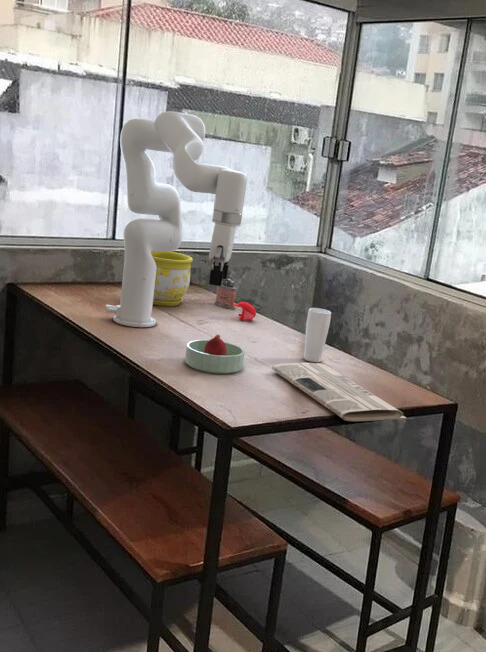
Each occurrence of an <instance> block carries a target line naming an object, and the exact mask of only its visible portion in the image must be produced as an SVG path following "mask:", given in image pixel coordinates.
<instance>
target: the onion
mask: <svg viewBox="0 0 486 652" xmlns="http://www.w3.org/2000/svg"><path fill="white" fill-rule="evenodd" d="M208 340H209V341H208V342H207V344H206V346H205V350H204V351H205V353H206V354H211V355H219V356H225V355H226V351H227V349H226V345H225V343H224V342H225V341H224V340H223V339H222V338H221V335H220V334H219V333H218V334H216V335H215V336H214V337H213V338H211V339H208Z"/></svg>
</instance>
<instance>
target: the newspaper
mask: <svg viewBox="0 0 486 652" xmlns="http://www.w3.org/2000/svg"><path fill="white" fill-rule="evenodd" d="M271 370H273V372H275V373H276V374H277V375H279V376H280V377H282V378H284V380H286V381H288V382H289V383H291V384H292V385H293V386H294V387H296V388H298V389H299V390H300V391H302V392H303V393H305V394H306V395H307V396H309V397H311V398H312V399H313V400H314V401H316V402H317V403H319V404H320V405H322V406H323V407H325V408H326V409H328V410H329V411H331V412H332V413H333V414H335V415H336V416H338V417H339V418H341V419H342V420H343V421H347V422H371V421H393V420H399V419H409V418H407V417H406V416H405V415H404V412H403V411H401V410H399V409H398V408H396V407H394V406H392V405H391V404H389V403H388V402H387V401H385V400H383V399H382V398H379V397H378V396H377V395H375V394H373V393H372V392H370V391H368V390H367V389H365V388H363V387H362V386H361V385H359V384H357V383H356V382H354V381H352V380H351V379H349V378H348V377H346V376H344V375H343V374H341V373H339V372H337V371H336V370H334V369H333V368H331V367H329V366H328V365H326V364H324V363H319V362H290V363H289V362H288V363H285V362H284V363H277V364H273V365H272V366H271Z"/></svg>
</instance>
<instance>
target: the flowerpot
mask: <svg viewBox="0 0 486 652" xmlns="http://www.w3.org/2000/svg"><path fill="white" fill-rule="evenodd" d="M151 255H152V257H153V259H154V261H155V263H156V278H155V287H154V296H153V305H154V306H161V307H162V306H163V307H176V306H178V305H180V303H182V302H183V297H184V295H185V294H187V291H188V290H189V286H190V283H191V268H192V265H191V264H192V263H193V261H194V259H193V257H191V256H190V255H187V254H184V253H180V252H175V251H170V252H164V251H152V252H151Z"/></svg>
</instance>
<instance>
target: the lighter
mask: <svg viewBox="0 0 486 652" xmlns="http://www.w3.org/2000/svg"><path fill="white" fill-rule="evenodd" d="M237 290H238V288H237V287H236V286H235V280H232V279H231V278H227V279H222V285H221V286H217V289H216V296H215V301H214V305H215V306H218V307H220V308H221V307H222V308H224V309H228V310H235V306H234V304H235V301H236V294H237V293H236V292H237Z"/></svg>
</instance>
